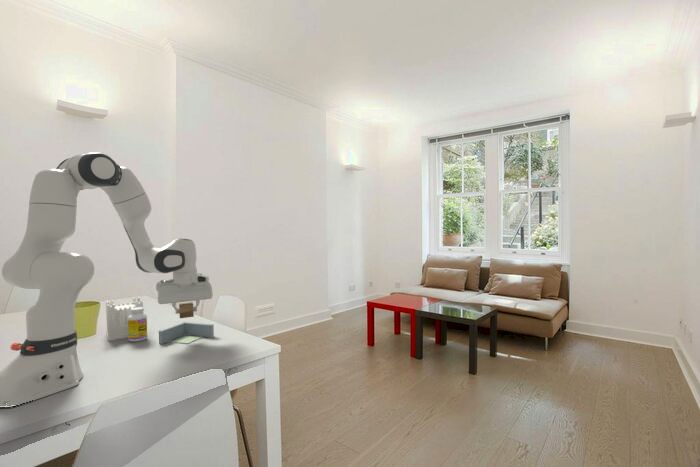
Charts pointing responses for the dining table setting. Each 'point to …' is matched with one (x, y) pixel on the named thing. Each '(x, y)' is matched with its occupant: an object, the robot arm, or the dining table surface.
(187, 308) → the walnut cube
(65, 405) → the dining table surface
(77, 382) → the robot arm
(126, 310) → the castle model
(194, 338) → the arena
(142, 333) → the supplement bottle
